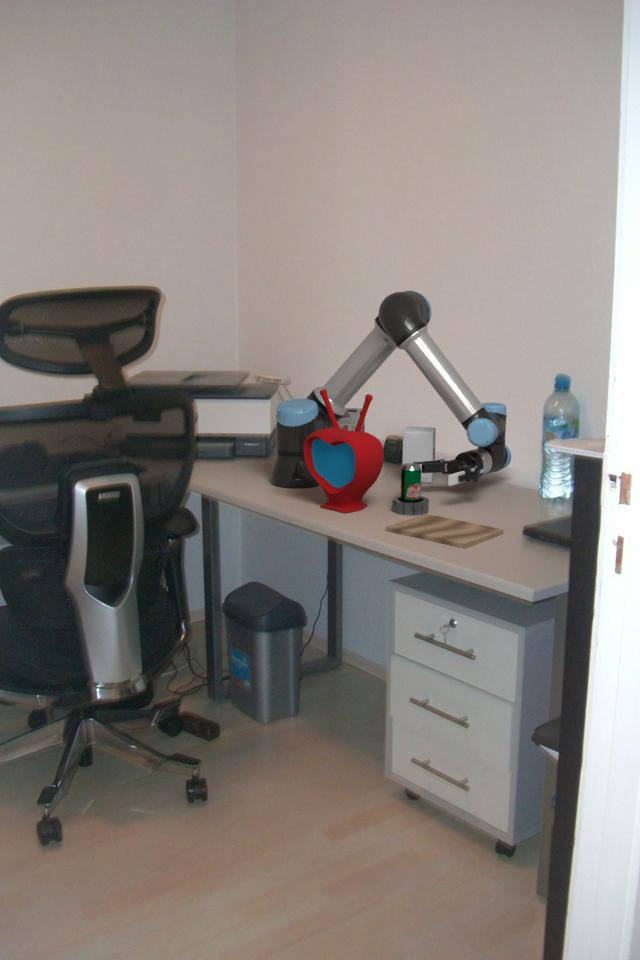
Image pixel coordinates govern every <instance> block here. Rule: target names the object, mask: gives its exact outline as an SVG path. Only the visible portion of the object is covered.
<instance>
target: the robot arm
mask: <svg viewBox="0 0 640 960" xmlns="http://www.w3.org/2000/svg"><path fill="white" fill-rule="evenodd" d="M431 318H432V307H431V304H430V301H429V300H428V299H427V298H426V296H424V294H422V293H419V292H418V291H415V290H404V291H396V292H393V293H390V294H389V295H387V296H386V297H385V298H384V299H383V300H382V302H381V303H380V306H379V309H378V315H377V316H376V317H375V318H374V327H373V328H372V330H371V331H370V332H369V333H368V334H367V335H366V337H365V338H363V340H362V341H361V342H360V344H359V345H358V346H357V347H356V348H355V350H353V351H352V353H351V354H350V355H349V356H348V357H347V359H346V360H345V361H344V362H343V363H342V364H341V365H340V367H339V368H338V369H337V370H336V371H335V372H334V374H332V376H331V377H330V378H329V379H328V380H327V381H326V383H324V385H323V386H316V387H314V389H312V391H311V392H310V393H309V395H308V396H307V397H306V398H293V399H290V400H289V399H288V400H285V401H284V400H283V401H282V402H281V403H279V404H278V405H277V408H276V414H275V415H276V416H275V418H276V446H277V447H276V450H277V451H276V460H275V463H274V467H273V472H272V473H271V484H272V485H273V486H274V485H275V486H277V487H281V488H291V489H292V488H294V489H295V488H296V489H297V488H298V489H299V488H300V489H301V488H310V487H317V486H320V485H319V484H318V482H317V481H316V480H315V479H314V478H313V476H312V475H311V473H310V472H309V470H308V468H307V465H306V462H305V458H304V451H303V446H304V442H305V440H306V438H307V437H308V436H309V435H310V434H312V433H313V432H315V431H318V430H321V429H325V428H333V427H332V423H331V420H330V417H329V414H328V411H327V409H326V406H325V403H324V401H323V398H322V396H321V395H320V391H321V390H323V389H326V390H327V395H328V398H329V401H330V404H331V407H332V410H333V413H334V415H335V418H336V420H337V423H338V421H339V420H340V419H341V417H342V416H343V415H344V414H345V408H346V406H347V405H348V403H349V402H350V401H351V400H352V398H353V397H354V396H355V395H356V394H357V393H358V392H359V391H360V389H362V387H363V386H364V385H365V384H366V383H367V382H368V381H369V379H371V378H372V376H373V375H374V374H375V373H376V372H377V371H378V369H379V368H380V367H381V366H383V364H384V363H385V362H386V360H387V359H388V358H389V357H390V356H391V355H392V353H394V352H395V350H396V349H399V350H403V351H405V352H406V354H407V355H408V356H409V357H410V359H411V360H412V362H413V363H414V364H415V366H416V367H417V368H418V369H419V371H420V372H421V373H422V375H423V376H424V378H426V380H427V381H428V382H429V384H430V385H431V386H432V389H434V390H435V392H436V393H437V395H438V396H439V397H440V399H442V401H443V402H444V404H445V405H446V406H447V407H448V409H449V410H450V412H451V413H452V414H453V415H454V417H455V418H456V419H457V421H458V422H459V423H460V425H461V426H462V427H463V428H464V430H465V431H466V437H467V439H468V441H469V443H470V444H472V445H473V446H475V447H477V448H474V449H470V450H468V451H463V452H461V453H458V454H457V455H456V457H455V458H454V459H451V460H445V459H443V458H442V459H437V460H436V459H435V460H434V461H423V462H413V463H416V464H419V465H420V468H421V474H422V473H434V474H436V473H441V474H442V475H448V480H447V481H448V483H447V486H449V487H450V486H454V485H458V484H462V483H465V482H468V483H469V482H471V481H472V483H478V482H479V480H480V478H481V477H482V476H485V475H488V474H491V473H497V472H499V471H501V470H504V469H505V468H507V467H508V466H509V465H510V463H511V460H512V453H511V450H510V448H509V447H508V446H507V445H506V431H507V430H506V429H507V428H506V427H507V418H508V415H507V406H506V405H505V404H504V403H500V402H484V403H481V401H480V400H479V398H478V397H477V396H476V395H475V393H474V392H473V390H471V388H470V387H469V386H468V384H467V383H466V382H465V380H464V379H463V378H462V376H461V375H460V374H459V372H458V371H457V370H456V368H455V367H454V365H452V363H451V362H450V360H449V359H448V358H447V356H445V354H444V352H443V351H442V350H441V348H440V347H439V346H438V345H437V344H436V342H435V341H434V339H433V338H432V336H431V335H429V333H428V329H429V326H428V324H429V323H430V320H431Z"/></svg>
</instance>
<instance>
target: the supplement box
mask: <svg viewBox="0 0 640 960" xmlns="http://www.w3.org/2000/svg"><path fill="white" fill-rule="evenodd" d="M436 429H437V428H436V427H427V426H426V427H425V426H421V427H420V426H406V427H405V428H404V430H403V431H402V461H401V462H402V464H401V465H402V466H401V468H402V467H403V464H405V463H413V462H423V461H434V460H436V435H437V434H436ZM434 478H435V473H422V474H421V484H423V483H424V484H426V483H427V484H433V481H434Z"/></svg>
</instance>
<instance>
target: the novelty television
mask: <svg viewBox="0 0 640 960" xmlns="http://www.w3.org/2000/svg"><path fill="white" fill-rule="evenodd" d="M320 395H321V396H322V398H323V401H324V403H325V406H326V409H327V411H328V414H329V417H330V420H331V423H332V427H333V428H325V429H321V430H318V431H315V432H313V433H312V434H310V435H309V436H308V437H307V438H306V440H305V442H304V446H303V451H304V458H305V462H306V465H307V468H308V470H309V472H310V473H311V475H312V476H313V478H314V479H315V480H316V481H317V482H318V484H319V485H318V486H319V487H320V488H321V490H322V491H323V492H324V494H325V496H326V498H327V501H328V502H325V503H322V504H321V505H319V507H320V508H321V509H325V510H330V511H334V512H337V511H338V513H341V512H342V514H350V513H356V512H360V511H362V510H364V509H365V508H367V506H368V503H366V502H362V501H363V499H364V497H365V494H366V493H367V492H368V491H369V490H370V488H371V487H372V486H373V485H374V484H375V483H376V481H377V480H378V478H379V476H380V475H381V472H382V468H383V465H384V461H385V460H384V458H385V454H384V453H385V452H384V451H385V450H384V445H383V444H382V442H381V441H380V440H379V439H378V438H377V436H375V435H373V434H371V433H369V432H366V431H365V432H363V431H361V429H362V425H363V422H364V419H365V418H366V416H367V412H368V411H369V407H370V405H371V402H372V400H373V399H374V396H373V395H372V394H370V393H368V394H365V397H364V402H363V405H362V408H361V409H362V411H361V414H360V417H359V420H358V423H357V425H356V427H355V431H348V430H346V429H343V428H339V425H338V423H337V420H336V418H335V415H334V413H333V410H332V407H331V404H330V401H329V398H328V395H327V390H326V389H323V390H321V391H320ZM365 420H366V419H365Z"/></svg>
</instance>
